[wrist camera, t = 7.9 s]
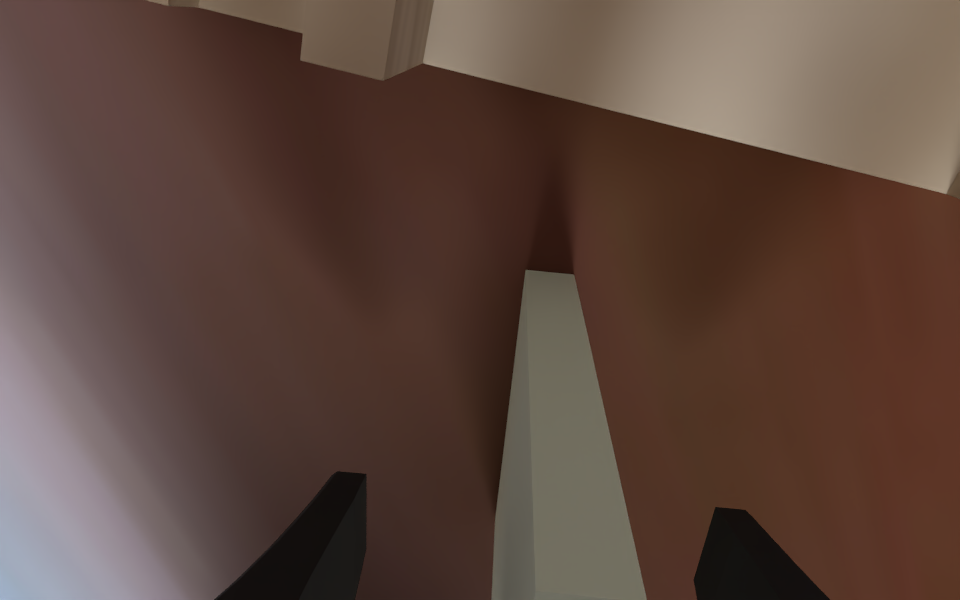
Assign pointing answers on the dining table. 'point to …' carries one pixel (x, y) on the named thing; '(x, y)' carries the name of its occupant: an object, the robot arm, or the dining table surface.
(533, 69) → the offcut rack
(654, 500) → the dining table surface
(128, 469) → the dining table surface
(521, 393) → the sheet
